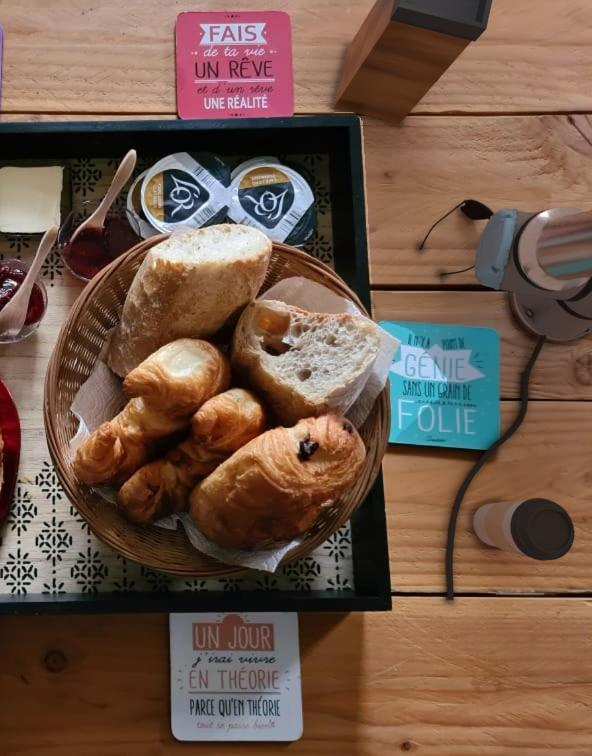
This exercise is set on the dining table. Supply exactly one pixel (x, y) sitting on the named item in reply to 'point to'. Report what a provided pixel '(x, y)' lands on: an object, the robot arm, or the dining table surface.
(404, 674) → the dining table surface
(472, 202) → the sunglasses
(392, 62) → the stand
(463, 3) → the tray
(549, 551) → the coffee cup
